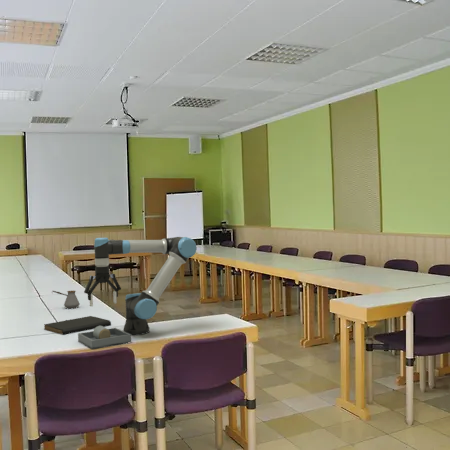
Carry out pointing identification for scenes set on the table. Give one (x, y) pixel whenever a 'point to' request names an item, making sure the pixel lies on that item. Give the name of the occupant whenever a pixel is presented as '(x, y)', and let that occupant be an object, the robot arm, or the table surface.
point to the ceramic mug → (101, 333)
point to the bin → (93, 343)
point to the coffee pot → (70, 299)
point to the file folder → (76, 325)
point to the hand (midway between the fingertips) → (103, 304)
